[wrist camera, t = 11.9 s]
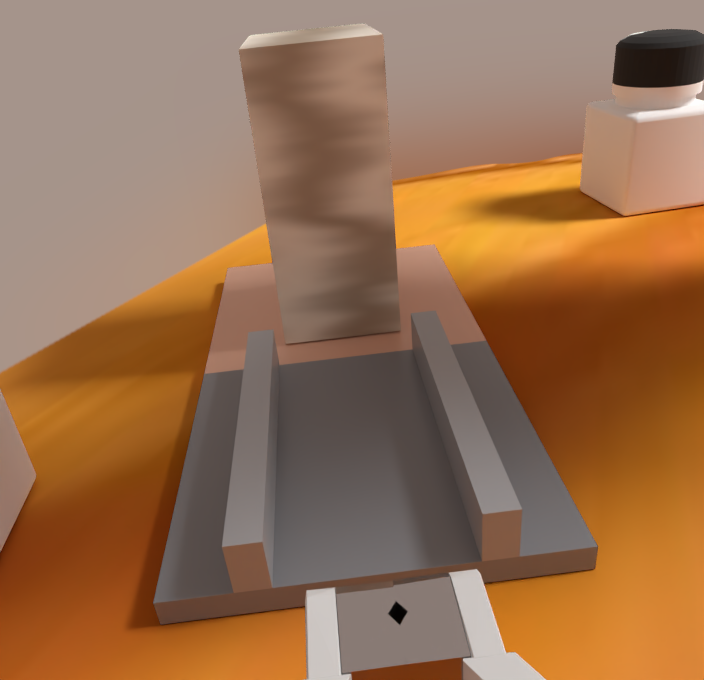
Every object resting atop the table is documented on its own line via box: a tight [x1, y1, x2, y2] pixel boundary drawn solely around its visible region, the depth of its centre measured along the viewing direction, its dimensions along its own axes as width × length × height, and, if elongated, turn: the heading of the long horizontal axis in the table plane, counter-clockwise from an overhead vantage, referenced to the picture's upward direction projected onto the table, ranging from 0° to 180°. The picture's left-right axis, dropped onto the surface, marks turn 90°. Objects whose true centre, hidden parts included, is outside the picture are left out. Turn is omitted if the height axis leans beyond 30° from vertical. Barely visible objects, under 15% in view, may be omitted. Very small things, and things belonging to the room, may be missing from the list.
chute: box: [153, 245, 598, 624], centre depth 32 cm, size 14×27×3 cm, turn 5°
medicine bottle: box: [580, 29, 704, 216], centre depth 49 cm, size 7×7×12 cm
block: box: [239, 23, 401, 344], centre depth 34 cm, size 6×8×14 cm
